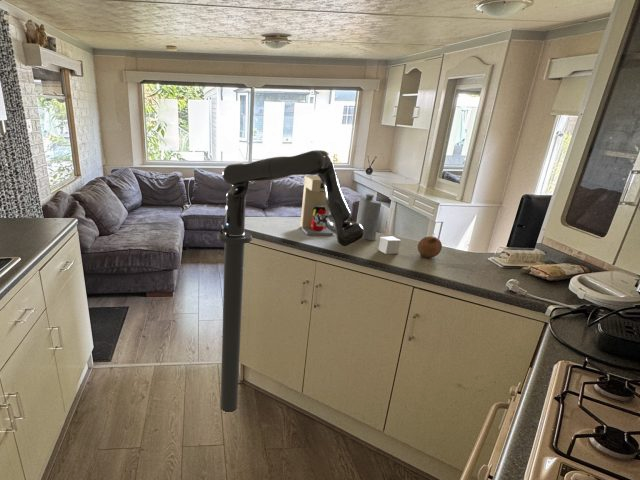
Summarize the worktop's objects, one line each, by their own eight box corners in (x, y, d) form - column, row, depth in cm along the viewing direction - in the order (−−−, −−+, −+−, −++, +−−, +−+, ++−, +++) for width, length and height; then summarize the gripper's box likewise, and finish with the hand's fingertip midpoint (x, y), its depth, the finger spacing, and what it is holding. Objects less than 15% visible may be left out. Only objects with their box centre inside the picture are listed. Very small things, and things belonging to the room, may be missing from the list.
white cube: (378, 250, 189) (380, 236, 187) (390, 249, 190) (392, 236, 188) (385, 254, 184) (388, 240, 181) (397, 253, 185) (400, 240, 183)
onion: (429, 266, 180) (437, 248, 173) (410, 255, 185) (416, 237, 177) (442, 254, 184) (449, 237, 177) (422, 244, 189) (429, 227, 181)
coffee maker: (333, 235, 208) (340, 180, 198) (307, 235, 207) (313, 180, 196) (324, 227, 221) (330, 176, 211) (299, 227, 220) (305, 175, 209)
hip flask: (376, 240, 203) (383, 197, 195) (368, 240, 202) (375, 198, 194) (359, 231, 217) (365, 191, 209) (352, 231, 216) (358, 191, 208)
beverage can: (323, 228, 215) (326, 204, 210) (324, 231, 209) (327, 207, 204) (310, 227, 216) (313, 203, 211) (311, 231, 210) (313, 206, 205)
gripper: (354, 215, 184) (341, 207, 198) (321, 215, 182) (311, 207, 197) (351, 232, 187) (339, 223, 201) (319, 232, 185) (309, 223, 200)
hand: (325, 215), depth 199 cm, fingers open, 8 cm apart
